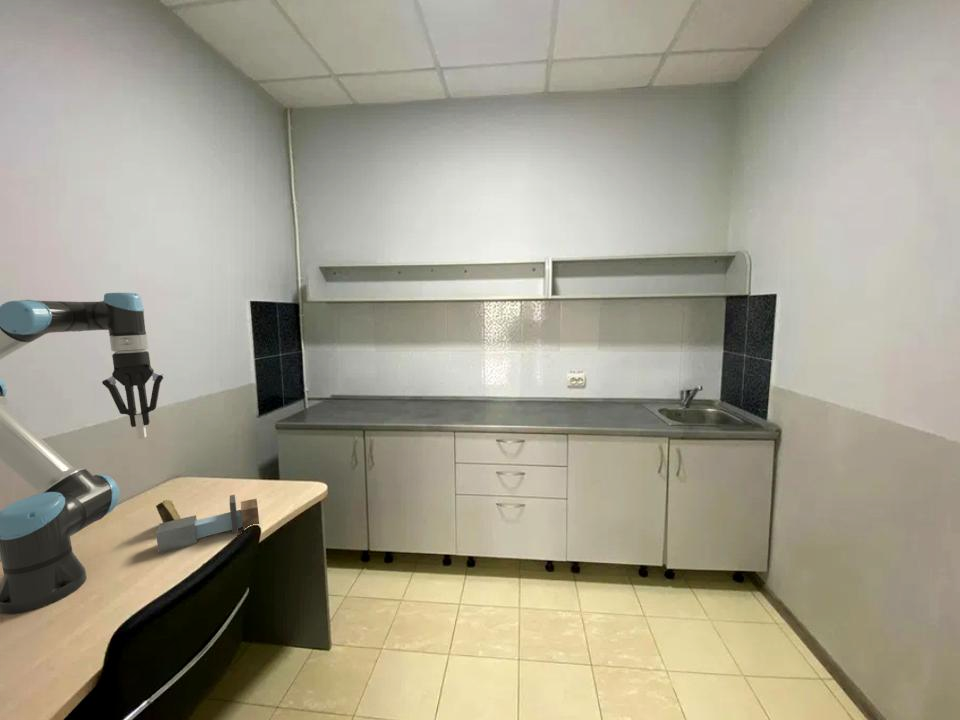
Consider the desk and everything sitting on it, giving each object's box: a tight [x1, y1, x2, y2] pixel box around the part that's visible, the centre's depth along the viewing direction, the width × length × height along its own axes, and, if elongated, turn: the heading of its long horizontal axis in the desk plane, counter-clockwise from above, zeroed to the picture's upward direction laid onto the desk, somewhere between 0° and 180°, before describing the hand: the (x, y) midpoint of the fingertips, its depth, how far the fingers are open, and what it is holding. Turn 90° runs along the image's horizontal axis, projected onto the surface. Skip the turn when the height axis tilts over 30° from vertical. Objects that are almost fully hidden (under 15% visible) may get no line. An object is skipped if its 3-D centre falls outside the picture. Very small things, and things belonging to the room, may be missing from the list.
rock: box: [155, 499, 181, 523], centre depth 133 cm, size 11×9×10 cm
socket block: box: [240, 497, 260, 531], centre depth 132 cm, size 4×7×7 cm, turn 31°
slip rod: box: [195, 494, 243, 539], centre depth 127 cm, size 18×6×10 cm, turn 121°
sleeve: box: [155, 514, 199, 555], centre depth 122 cm, size 9×6×6 cm
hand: (142, 437), depth 113 cm, fingers closed
